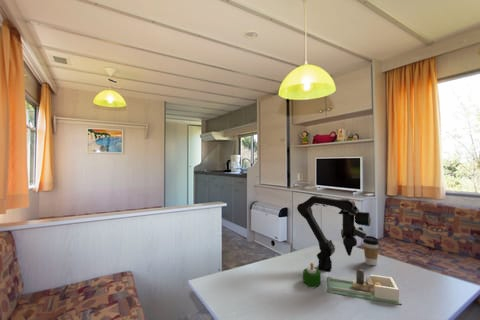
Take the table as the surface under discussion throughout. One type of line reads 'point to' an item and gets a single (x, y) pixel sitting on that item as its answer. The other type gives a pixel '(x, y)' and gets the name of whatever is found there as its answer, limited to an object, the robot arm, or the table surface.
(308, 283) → the candle
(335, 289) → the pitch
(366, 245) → the coffee cup
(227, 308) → the table surface
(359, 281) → the kicker
